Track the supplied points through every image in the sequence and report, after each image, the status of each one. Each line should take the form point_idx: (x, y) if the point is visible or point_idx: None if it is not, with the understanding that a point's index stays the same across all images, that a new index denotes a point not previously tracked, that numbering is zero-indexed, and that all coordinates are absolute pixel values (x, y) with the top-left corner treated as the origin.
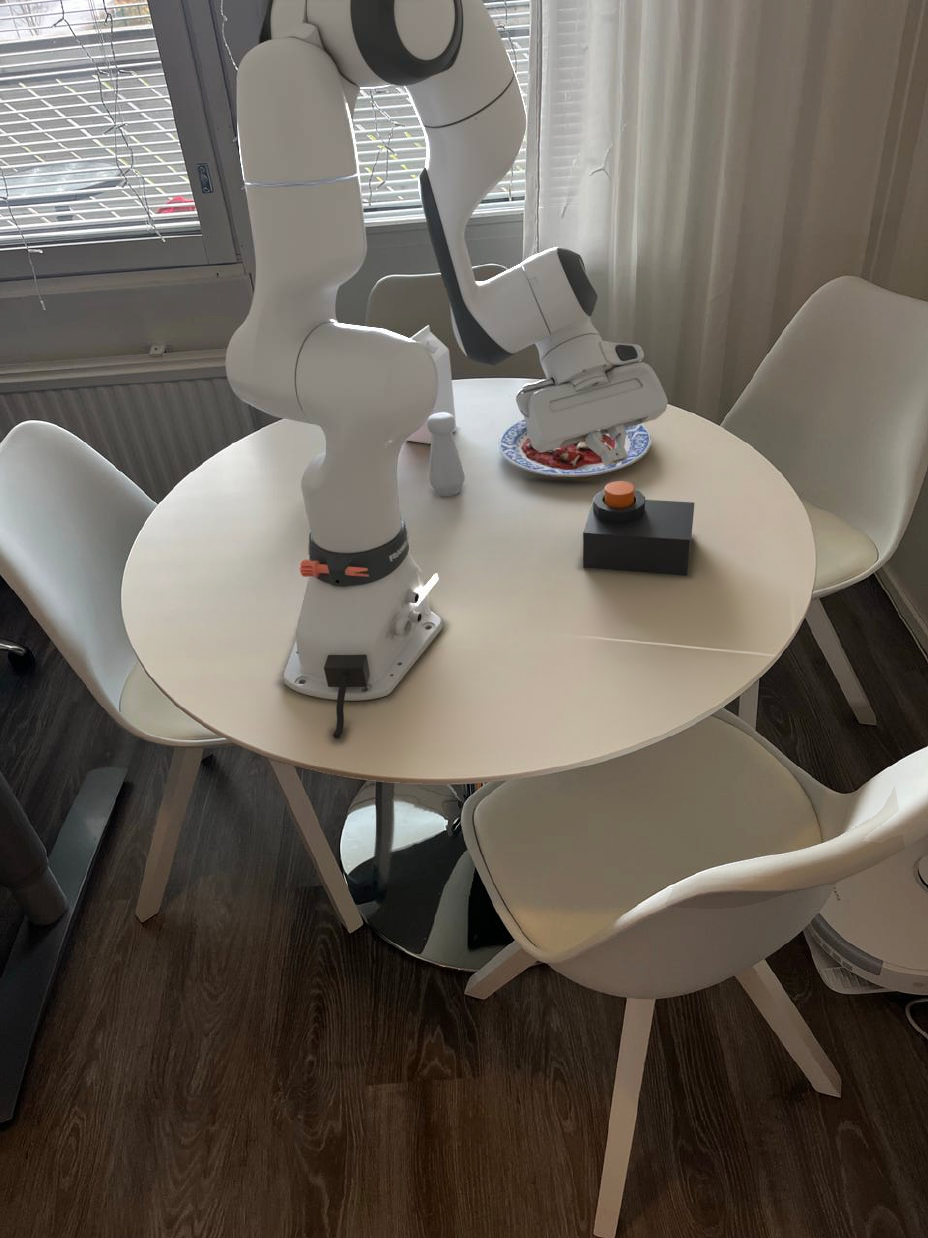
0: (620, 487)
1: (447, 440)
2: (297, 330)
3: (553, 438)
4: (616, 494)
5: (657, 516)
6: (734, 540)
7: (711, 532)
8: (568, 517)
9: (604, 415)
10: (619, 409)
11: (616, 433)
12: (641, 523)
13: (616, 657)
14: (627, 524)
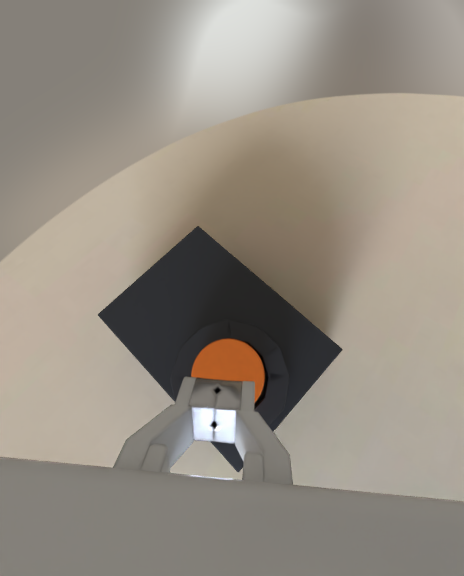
0: (225, 374)
1: None
2: None
3: None
4: (254, 350)
5: (186, 314)
6: (88, 289)
7: (93, 325)
8: None
9: (189, 536)
10: (70, 537)
11: (167, 454)
12: (227, 310)
13: (382, 181)
14: (251, 323)
